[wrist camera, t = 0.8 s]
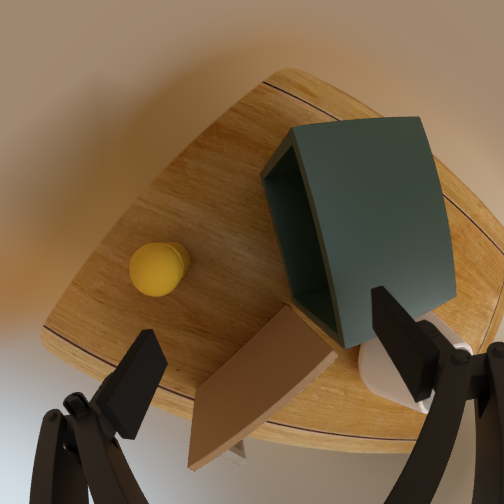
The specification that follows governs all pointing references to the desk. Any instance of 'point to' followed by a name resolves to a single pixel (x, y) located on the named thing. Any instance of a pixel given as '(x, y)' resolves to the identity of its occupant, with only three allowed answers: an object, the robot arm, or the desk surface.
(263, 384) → the cabinet door
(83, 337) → the desk surface
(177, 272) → the toy
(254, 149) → the desk surface
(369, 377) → the white tapered cylinder
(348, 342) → the cabinet
